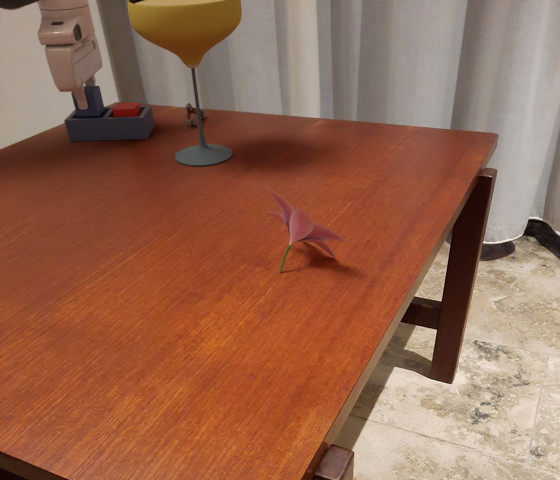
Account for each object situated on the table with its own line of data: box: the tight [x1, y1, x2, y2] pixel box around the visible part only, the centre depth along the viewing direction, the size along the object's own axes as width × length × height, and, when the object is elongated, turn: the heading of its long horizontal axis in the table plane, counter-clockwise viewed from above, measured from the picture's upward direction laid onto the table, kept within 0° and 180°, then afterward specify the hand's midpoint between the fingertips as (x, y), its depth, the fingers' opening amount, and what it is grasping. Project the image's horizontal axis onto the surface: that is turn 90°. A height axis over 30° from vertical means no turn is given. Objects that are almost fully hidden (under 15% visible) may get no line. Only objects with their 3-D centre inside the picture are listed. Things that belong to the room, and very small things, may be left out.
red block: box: [112, 101, 141, 117], centre depth 114 cm, size 4×4×4 cm
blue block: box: [70, 85, 105, 117], centre depth 112 cm, size 4×4×4 cm
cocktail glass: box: [127, 0, 243, 167], centre depth 96 cm, size 18×18×25 cm
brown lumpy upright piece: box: [185, 102, 205, 128], centre depth 118 cm, size 2×8×4 cm, turn 167°
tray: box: [63, 104, 155, 142], centre depth 115 cm, size 8×16×4 cm, turn 89°
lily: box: [264, 186, 348, 273], centre depth 71 cm, size 12×12×10 cm
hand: (88, 104), depth 113 cm, fingers closed on blue block, 4 cm apart
